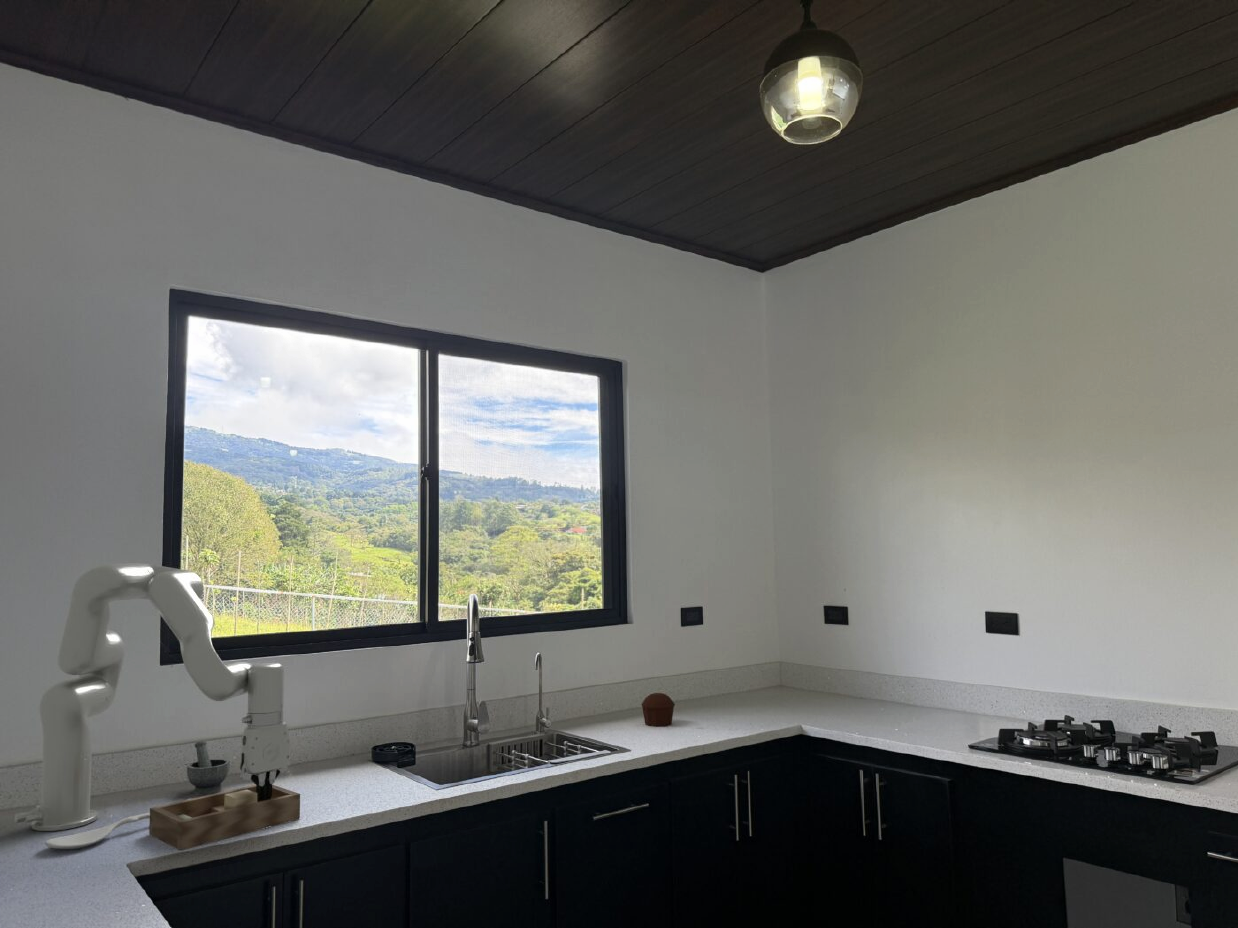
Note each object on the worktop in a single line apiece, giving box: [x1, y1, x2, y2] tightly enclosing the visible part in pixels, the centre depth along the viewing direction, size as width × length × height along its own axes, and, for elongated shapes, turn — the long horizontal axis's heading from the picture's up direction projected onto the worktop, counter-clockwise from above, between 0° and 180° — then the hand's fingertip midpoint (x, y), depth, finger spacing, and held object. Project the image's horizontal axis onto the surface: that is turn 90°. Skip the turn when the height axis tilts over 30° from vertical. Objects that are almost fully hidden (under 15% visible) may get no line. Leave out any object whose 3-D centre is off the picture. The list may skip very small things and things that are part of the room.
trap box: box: [148, 784, 301, 851], centre depth 194 cm, size 26×16×6 cm, turn 138°
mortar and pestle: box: [186, 740, 231, 796], centre depth 224 cm, size 11×9×12 cm
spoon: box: [44, 798, 190, 850], centre depth 191 cm, size 9×32×4 cm, turn 143°
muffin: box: [640, 692, 676, 728], centre depth 295 cm, size 12×11×10 cm
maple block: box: [224, 790, 257, 810], centre depth 194 cm, size 5×5×4 cm
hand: (263, 801), depth 198 cm, fingers closed
